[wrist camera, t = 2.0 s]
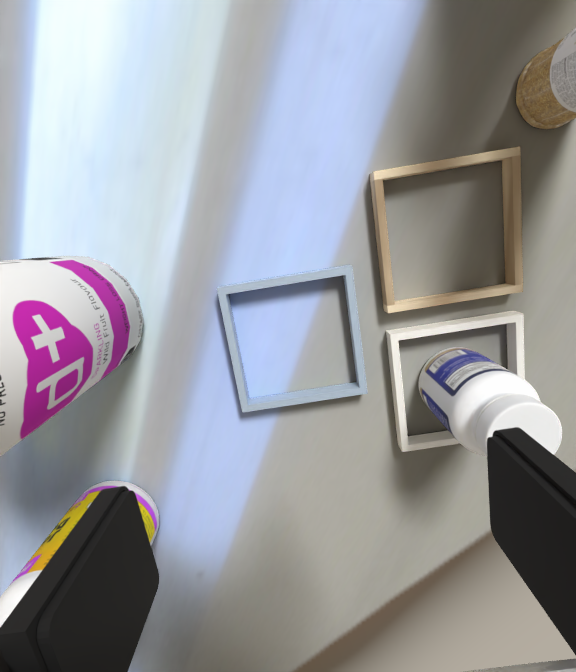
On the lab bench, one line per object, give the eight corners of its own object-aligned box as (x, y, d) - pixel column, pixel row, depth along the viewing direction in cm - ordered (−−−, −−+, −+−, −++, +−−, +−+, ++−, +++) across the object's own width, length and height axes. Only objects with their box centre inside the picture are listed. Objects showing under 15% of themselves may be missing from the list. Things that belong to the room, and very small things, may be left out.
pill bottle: (480, 415, 30) (561, 488, 21) (411, 410, 29) (464, 481, 21) (495, 347, 28) (587, 395, 20) (423, 342, 28) (484, 387, 20)
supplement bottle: (92, 464, 30) (-43, 621, 18) (173, 494, 31) (97, 665, 19) (67, 532, 32) (-73, 721, 19) (146, 559, 32) (59, 759, 20)
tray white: (513, 310, 28) (523, 313, 26) (516, 426, 30) (525, 433, 29) (385, 330, 28) (390, 334, 27) (397, 443, 30) (402, 452, 29)
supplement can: (153, 269, 27) (-4, 305, 12) (138, 380, 29) (-13, 526, 14) (32, 243, 26) (-280, 248, 12) (25, 358, 28) (-251, 485, 14)
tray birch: (509, 150, 25) (520, 146, 24) (512, 289, 27) (522, 291, 26) (369, 174, 25) (373, 171, 24) (383, 310, 28) (388, 313, 26)
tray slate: (349, 264, 27) (352, 266, 26) (364, 387, 29) (367, 393, 28) (219, 286, 27) (216, 288, 26) (244, 405, 29) (242, 412, 28)
